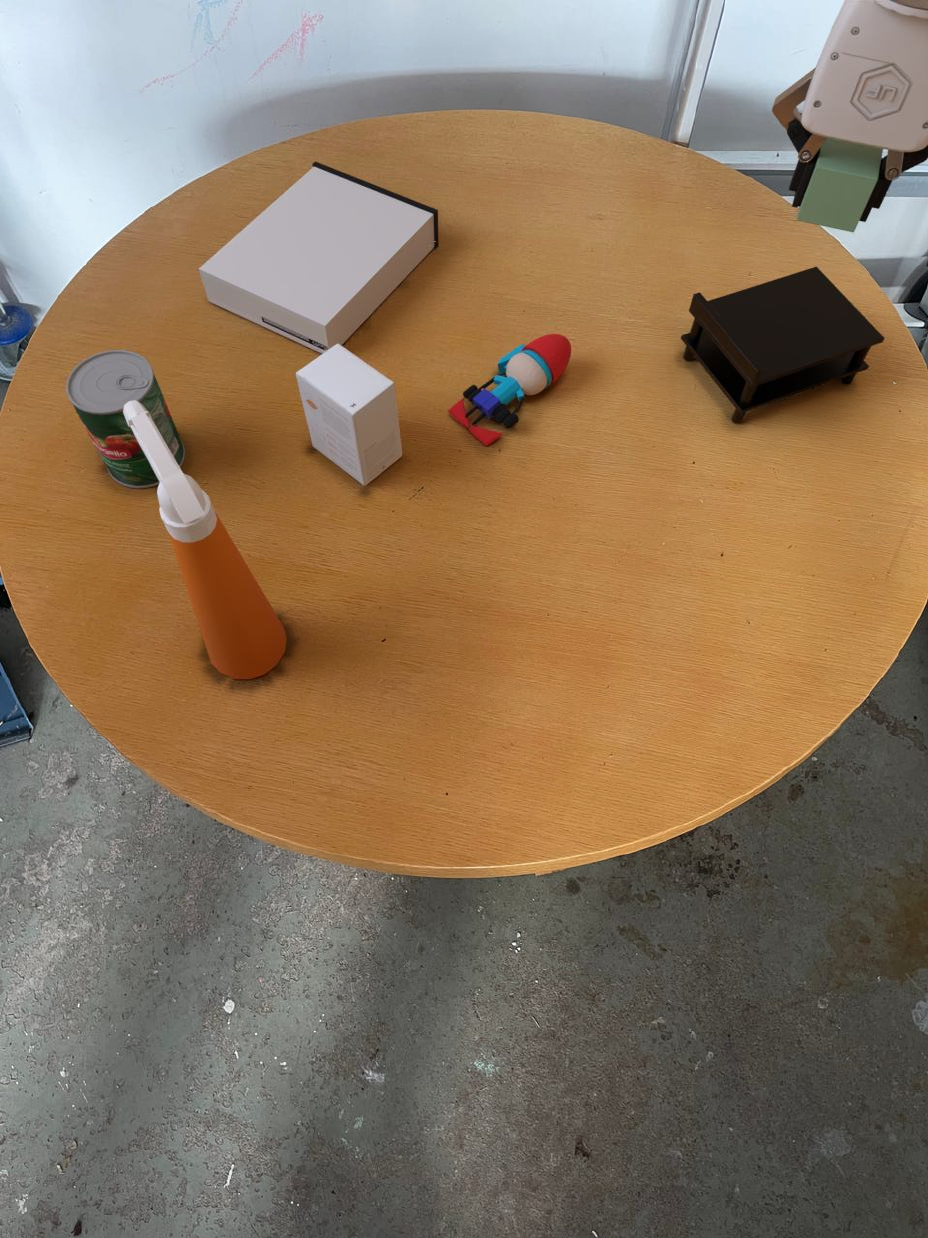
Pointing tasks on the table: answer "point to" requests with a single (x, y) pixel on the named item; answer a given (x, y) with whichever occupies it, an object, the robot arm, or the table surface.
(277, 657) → the spray bottle
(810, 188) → the cube
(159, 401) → the canned tomato
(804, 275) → the plate
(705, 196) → the table surface
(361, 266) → the disc drive
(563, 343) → the toy figure
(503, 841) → the table surface
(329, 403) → the small box
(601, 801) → the table surface
